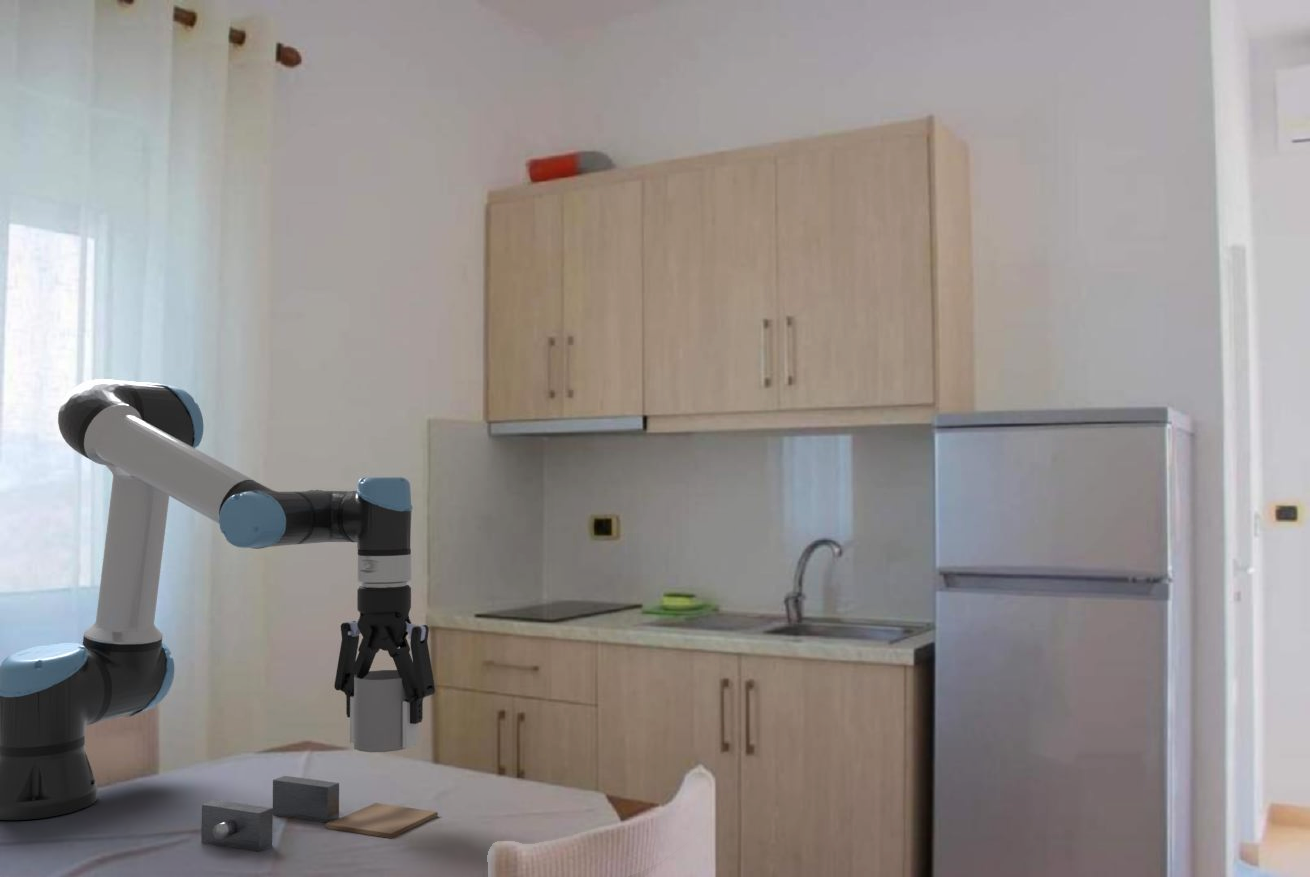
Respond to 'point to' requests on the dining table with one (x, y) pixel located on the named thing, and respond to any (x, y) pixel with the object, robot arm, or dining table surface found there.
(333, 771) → the dining table surface
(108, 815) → the dining table surface
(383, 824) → the board
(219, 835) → the vise jaws
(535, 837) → the dining table surface
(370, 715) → the cup
